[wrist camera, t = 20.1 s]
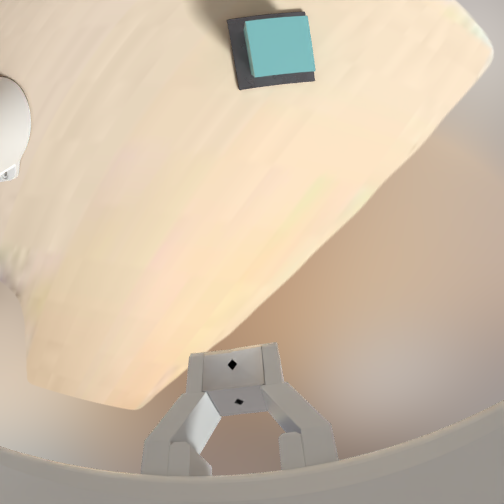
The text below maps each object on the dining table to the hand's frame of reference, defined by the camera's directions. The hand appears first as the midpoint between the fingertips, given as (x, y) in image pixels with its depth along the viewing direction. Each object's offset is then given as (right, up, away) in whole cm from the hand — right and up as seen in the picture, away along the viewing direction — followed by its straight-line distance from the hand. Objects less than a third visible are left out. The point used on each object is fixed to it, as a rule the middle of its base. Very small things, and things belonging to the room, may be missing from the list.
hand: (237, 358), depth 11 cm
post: (+3, +27, +21) cm, 34 cm away
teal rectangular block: (+3, +27, +21) cm, 34 cm away
